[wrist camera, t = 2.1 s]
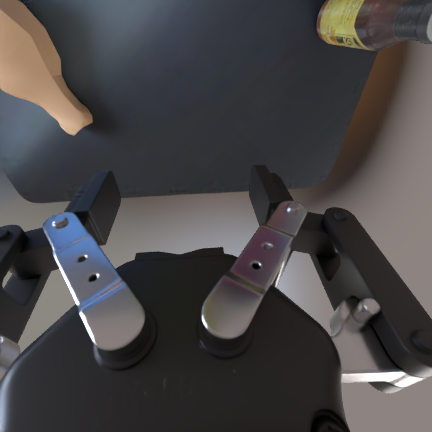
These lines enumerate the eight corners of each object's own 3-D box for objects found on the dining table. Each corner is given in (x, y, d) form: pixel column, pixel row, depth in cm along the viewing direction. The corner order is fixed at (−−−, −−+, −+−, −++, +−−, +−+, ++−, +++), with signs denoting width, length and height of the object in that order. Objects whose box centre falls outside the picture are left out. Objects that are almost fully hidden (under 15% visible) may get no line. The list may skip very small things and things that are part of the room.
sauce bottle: (310, 45, 37) (393, 63, 22) (319, -9, 33) (429, -32, 18) (350, 41, 37) (459, 56, 22) (364, -14, 33) (510, -40, 18)
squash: (-6, -47, 28) (-41, -60, 22) (111, 103, 42) (110, 121, 36) (-72, 2, 29) (-124, 4, 23) (64, 133, 43) (56, 155, 37)
